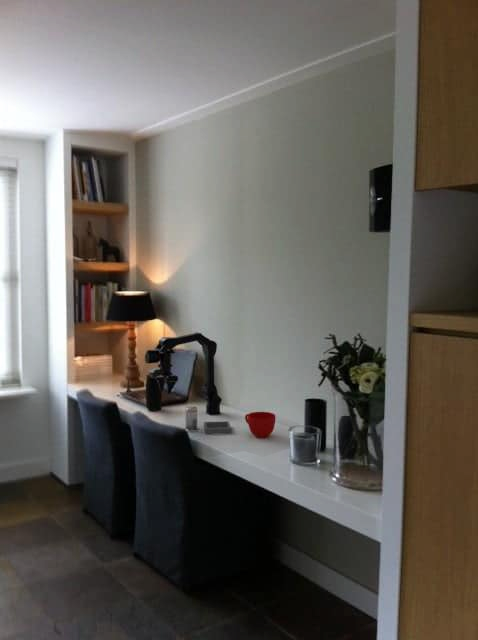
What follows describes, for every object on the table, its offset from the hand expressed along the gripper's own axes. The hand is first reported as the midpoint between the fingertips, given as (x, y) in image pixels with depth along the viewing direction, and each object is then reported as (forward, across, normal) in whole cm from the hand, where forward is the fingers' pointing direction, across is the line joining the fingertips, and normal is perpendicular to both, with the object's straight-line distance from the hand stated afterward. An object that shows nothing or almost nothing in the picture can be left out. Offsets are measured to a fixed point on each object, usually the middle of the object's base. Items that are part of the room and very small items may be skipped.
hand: (165, 392), depth 314 cm
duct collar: (+14, +30, +15) cm, 36 cm away
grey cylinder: (+14, +23, +4) cm, 28 cm away
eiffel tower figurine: (+15, -62, +3) cm, 64 cm away
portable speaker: (+15, -24, +4) cm, 28 cm away
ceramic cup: (+14, +47, +27) cm, 56 cm away
